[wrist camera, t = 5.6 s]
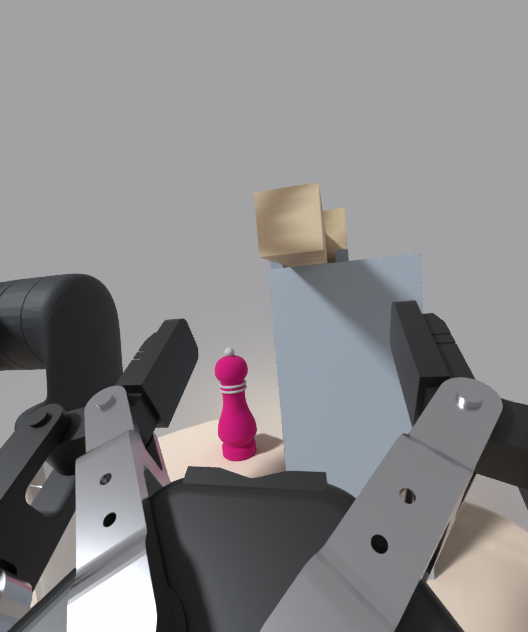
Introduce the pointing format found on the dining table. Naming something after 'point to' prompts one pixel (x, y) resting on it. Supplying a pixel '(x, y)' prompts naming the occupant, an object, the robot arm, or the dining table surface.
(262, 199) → the t key
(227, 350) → the pepper mill
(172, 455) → the dining table surface
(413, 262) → the stand
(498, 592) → the dining table surface
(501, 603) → the dining table surface
